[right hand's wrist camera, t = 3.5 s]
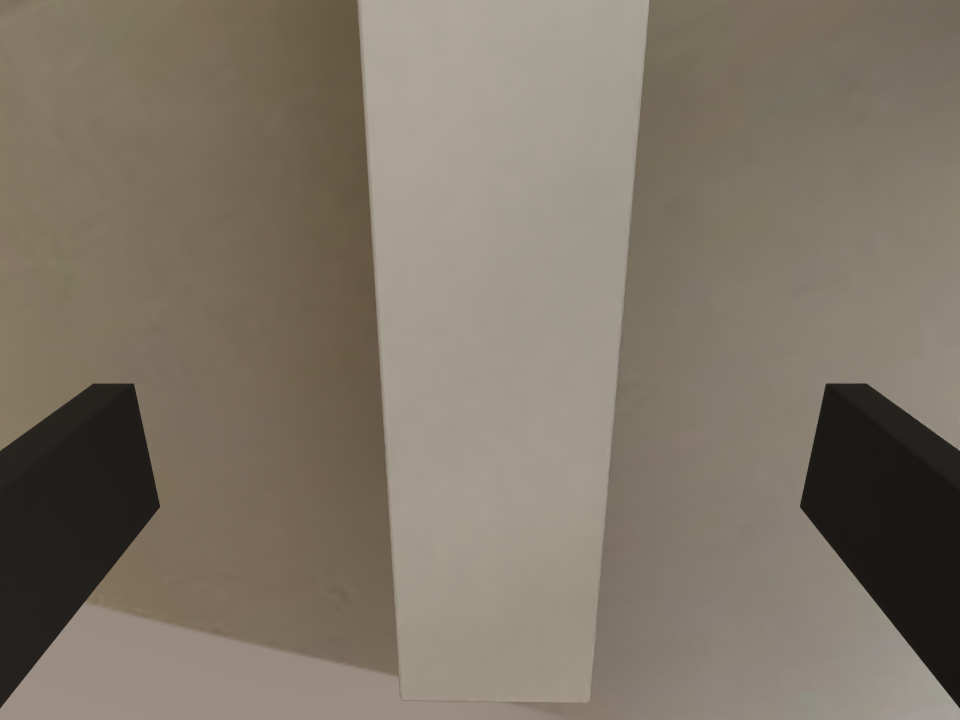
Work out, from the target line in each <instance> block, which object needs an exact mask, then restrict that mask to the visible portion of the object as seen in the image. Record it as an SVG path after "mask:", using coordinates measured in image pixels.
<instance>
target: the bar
mask: <svg viewBox="0 0 960 720" xmlns="http://www.w3.org/2000/svg"><path fill="white" fill-rule="evenodd" d="M649 2H650V0H357V7H358V23H359V39H360V55H361V71H362V88H363V104H364V120H365V136H366V152H367V169H368V185H369V201H370V217H371V233H372V250H373V266H374V282H375V298H376V314H377V331H378V347H379V363H380V379H381V395H382V412H383V428H384V444H385V460H386V476H387V493H388V509H389V525H390V541H391V557H392V574H393V590H394V606H395V622H396V639H397V655H398V671H399V687H400V698H401V700H403V701H457V702H530V703H588V702H589V701H590V694H591V682H592V670H593V658H594V647H595V635H596V623H597V612H598V600H599V588H600V576H601V565H602V553H603V541H604V530H605V518H606V506H607V494H608V483H609V471H610V459H611V448H612V436H613V424H614V412H615V401H616V389H617V377H618V366H619V354H620V342H621V330H622V319H623V307H624V295H625V284H626V272H627V260H628V248H629V237H630V225H631V213H632V202H633V190H634V178H635V166H636V155H637V143H638V131H639V120H640V108H641V96H642V84H643V73H644V61H645V49H646V38H647V26H648V14H649Z"/></svg>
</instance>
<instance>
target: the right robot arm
mask: <svg viewBox="0 0 960 720" xmlns="http://www.w3.org/2000/svg"><path fill="white" fill-rule="evenodd" d="M159 508H160V504H159V499H158V495H157V490H156V485H155V481H154V476H153V471H152V466H151V462H150V457H149V452H148V448H147V443H146V438H145V434H144V429H143V424H142V419H141V415H140V410H139V405H138V401H137V396H136V391H135V387H134V384H92V385H91V386H89V387H88V388H87V389H85V390H84V391H83V392H81V393H80V394H78V395H77V396H76V397H74V398H73V399H72V400H70V401H69V402H67V403H66V404H65V405H63V406H62V407H60V408H59V409H58V410H56V411H55V412H54V413H52V414H51V415H49V416H48V417H47V418H45V419H44V420H42V421H41V422H40V423H38V424H37V425H36V426H34V427H33V428H31V429H30V430H29V431H27V432H26V433H25V434H23V435H22V436H20V437H19V438H18V439H16V440H15V441H13V442H12V443H11V444H9V445H8V446H7V447H5V448H4V449H2V450H1V451H0V708H1V707H2V705H3V704H4V703H5V702H6V700H7V699H8V698H9V697H10V695H11V694H12V693H13V691H14V690H15V689H16V688H17V686H18V685H19V684H20V683H21V681H22V680H23V679H24V678H25V676H26V675H27V674H28V673H29V671H30V670H31V669H32V668H33V666H34V665H35V664H36V663H37V661H38V660H39V659H40V657H41V656H42V655H43V654H44V652H45V651H46V650H47V649H48V647H49V646H50V645H51V644H52V642H53V641H54V640H55V639H56V637H57V636H58V635H59V634H60V632H61V631H62V630H63V629H64V627H65V626H66V625H67V623H68V622H69V621H70V620H71V618H72V617H73V616H74V615H75V613H76V612H77V611H78V610H79V608H80V607H81V606H82V605H83V603H84V602H85V601H86V600H87V598H88V597H89V596H90V595H91V593H92V592H93V591H94V589H95V588H96V587H97V586H98V584H99V583H100V582H101V581H102V579H103V578H104V577H105V576H106V574H107V573H108V572H109V571H110V569H111V568H112V567H113V566H114V564H115V563H116V562H117V561H118V559H119V558H120V557H121V555H122V554H123V553H124V552H125V550H126V549H127V548H128V547H129V545H130V544H131V543H132V542H133V540H134V539H135V538H136V537H137V535H138V534H139V533H140V532H141V530H142V529H143V528H144V527H145V525H146V524H147V523H148V521H149V520H150V519H151V518H152V516H153V515H154V514H155V513H156V511H157V510H158V509H159ZM800 508H801V509H802V510H803V511H804V513H805V514H806V515H807V516H808V518H809V519H810V520H811V521H812V523H813V524H814V525H815V527H816V528H817V529H818V530H819V532H820V533H821V534H822V535H823V537H824V538H825V539H826V540H827V542H828V543H829V544H830V545H831V547H832V548H833V549H834V550H835V552H836V553H837V554H838V555H839V557H840V558H841V559H842V561H843V562H844V563H845V564H846V566H847V567H848V568H849V569H850V571H851V572H852V573H853V574H854V576H855V577H856V578H857V579H858V581H859V582H860V583H861V584H862V586H863V587H864V588H865V589H866V591H867V592H868V593H869V595H870V596H871V597H872V598H873V600H874V601H875V602H876V603H877V605H878V606H879V607H880V608H881V610H882V611H883V612H884V613H885V615H886V616H887V617H888V618H889V620H890V621H891V622H892V623H893V625H894V626H895V627H896V629H897V630H898V631H899V632H900V634H901V635H902V636H903V637H904V639H905V640H906V641H907V642H908V644H909V645H910V646H911V647H912V649H913V650H914V651H915V652H916V654H917V655H918V656H919V657H920V659H921V660H922V661H923V663H924V664H925V665H926V666H927V668H928V669H929V670H930V671H931V673H932V674H933V675H934V676H935V678H936V679H937V680H938V681H939V683H940V684H941V685H942V686H943V688H944V689H945V690H946V691H947V693H948V694H949V695H950V697H951V698H952V699H953V700H954V702H955V703H956V704H957V705H958V707H959V708H960V451H959V450H958V449H956V448H955V447H953V446H952V445H951V444H949V443H948V442H947V441H945V440H944V439H942V438H941V437H940V436H938V435H937V434H935V433H934V432H933V431H931V430H930V429H929V428H927V427H926V426H924V425H923V424H922V423H920V422H919V421H918V420H916V419H915V418H913V417H912V416H911V415H909V414H908V413H906V412H905V411H904V410H902V409H901V408H900V407H898V406H897V405H895V404H894V403H893V402H891V401H890V400H888V399H887V398H886V397H884V396H883V395H882V394H880V393H879V392H877V391H876V390H875V389H873V388H872V387H871V386H869V385H868V384H826V387H825V391H824V396H823V401H822V405H821V410H820V415H819V419H818V424H817V429H816V434H815V438H814V443H813V448H812V452H811V457H810V462H809V466H808V471H807V476H806V481H805V485H804V490H803V495H802V499H801V504H800Z"/></svg>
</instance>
